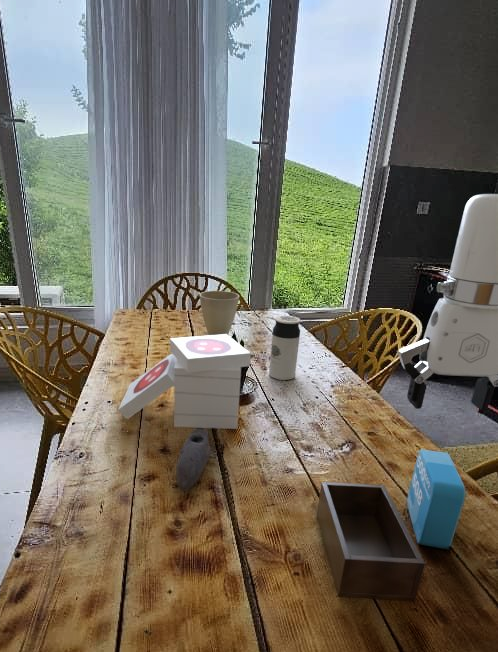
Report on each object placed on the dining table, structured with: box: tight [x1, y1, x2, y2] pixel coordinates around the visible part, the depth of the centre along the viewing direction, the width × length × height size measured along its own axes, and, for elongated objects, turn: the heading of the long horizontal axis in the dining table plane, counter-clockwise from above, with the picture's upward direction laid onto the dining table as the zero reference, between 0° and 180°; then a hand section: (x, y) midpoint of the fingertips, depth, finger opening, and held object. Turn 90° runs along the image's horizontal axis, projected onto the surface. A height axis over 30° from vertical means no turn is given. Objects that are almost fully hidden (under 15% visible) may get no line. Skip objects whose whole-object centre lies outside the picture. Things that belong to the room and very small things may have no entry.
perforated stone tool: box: [175, 428, 211, 492], centre depth 85 cm, size 15×5×7 cm, turn 167°
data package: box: [406, 449, 466, 550], centre depth 73 cm, size 12×4×12 cm, turn 167°
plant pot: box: [199, 290, 240, 335], centre depth 169 cm, size 15×15×16 cm
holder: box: [316, 481, 426, 602], centre depth 68 cm, size 11×17×7 cm, turn 178°
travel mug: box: [268, 315, 301, 381], centre depth 133 cm, size 8×8×18 cm
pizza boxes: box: [117, 334, 252, 430], centre depth 107 cm, size 19×30×18 cm, turn 90°
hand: (446, 405), depth 66 cm, fingers open, 9 cm apart
